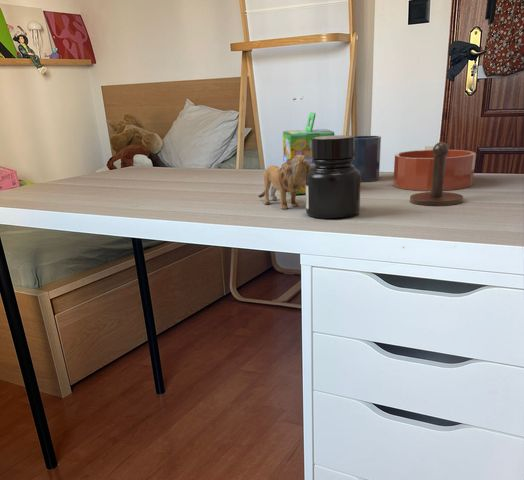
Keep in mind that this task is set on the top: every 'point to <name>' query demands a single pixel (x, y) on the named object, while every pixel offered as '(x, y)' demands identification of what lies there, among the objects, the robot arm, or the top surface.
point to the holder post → (437, 182)
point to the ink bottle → (333, 178)
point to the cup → (367, 157)
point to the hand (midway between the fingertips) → (518, 21)
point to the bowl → (421, 168)
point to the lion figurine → (286, 179)
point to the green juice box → (302, 144)
